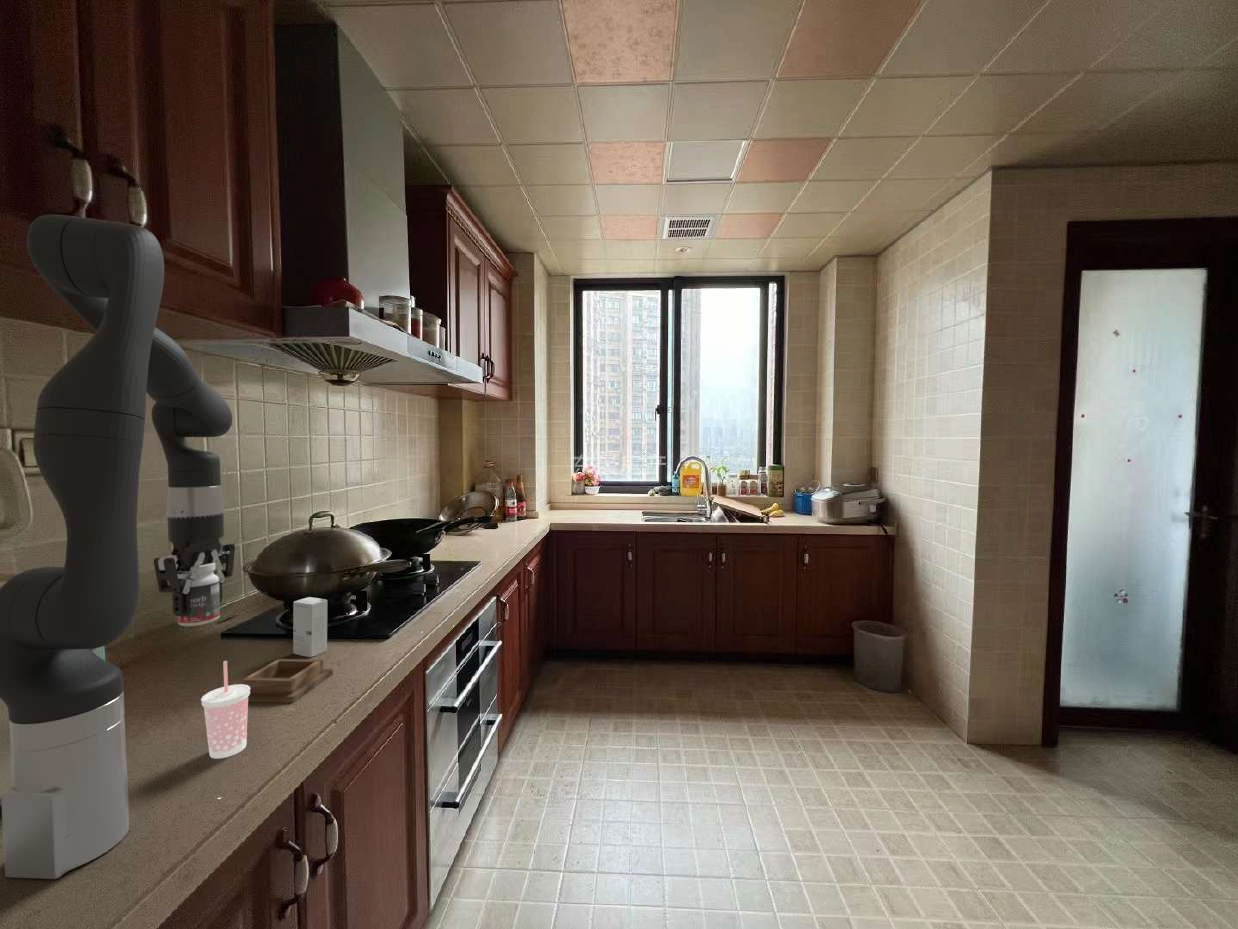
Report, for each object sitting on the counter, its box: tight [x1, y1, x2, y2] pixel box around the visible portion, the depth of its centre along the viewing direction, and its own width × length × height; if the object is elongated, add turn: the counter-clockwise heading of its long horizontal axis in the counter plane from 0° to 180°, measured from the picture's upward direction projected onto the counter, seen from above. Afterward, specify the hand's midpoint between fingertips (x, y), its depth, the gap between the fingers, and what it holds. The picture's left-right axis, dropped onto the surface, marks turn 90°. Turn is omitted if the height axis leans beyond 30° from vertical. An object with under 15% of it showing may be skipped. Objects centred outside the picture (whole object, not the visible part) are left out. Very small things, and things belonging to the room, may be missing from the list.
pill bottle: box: [177, 563, 221, 627], centre depth 90 cm, size 6×6×10 cm
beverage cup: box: [200, 660, 250, 759], centre depth 81 cm, size 6×6×14 cm
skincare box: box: [292, 596, 328, 658], centre depth 120 cm, size 6×4×12 cm
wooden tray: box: [241, 658, 334, 703], centre depth 103 cm, size 12×12×4 cm
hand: (199, 609), depth 90 cm, fingers closed on pill bottle, 5 cm apart
